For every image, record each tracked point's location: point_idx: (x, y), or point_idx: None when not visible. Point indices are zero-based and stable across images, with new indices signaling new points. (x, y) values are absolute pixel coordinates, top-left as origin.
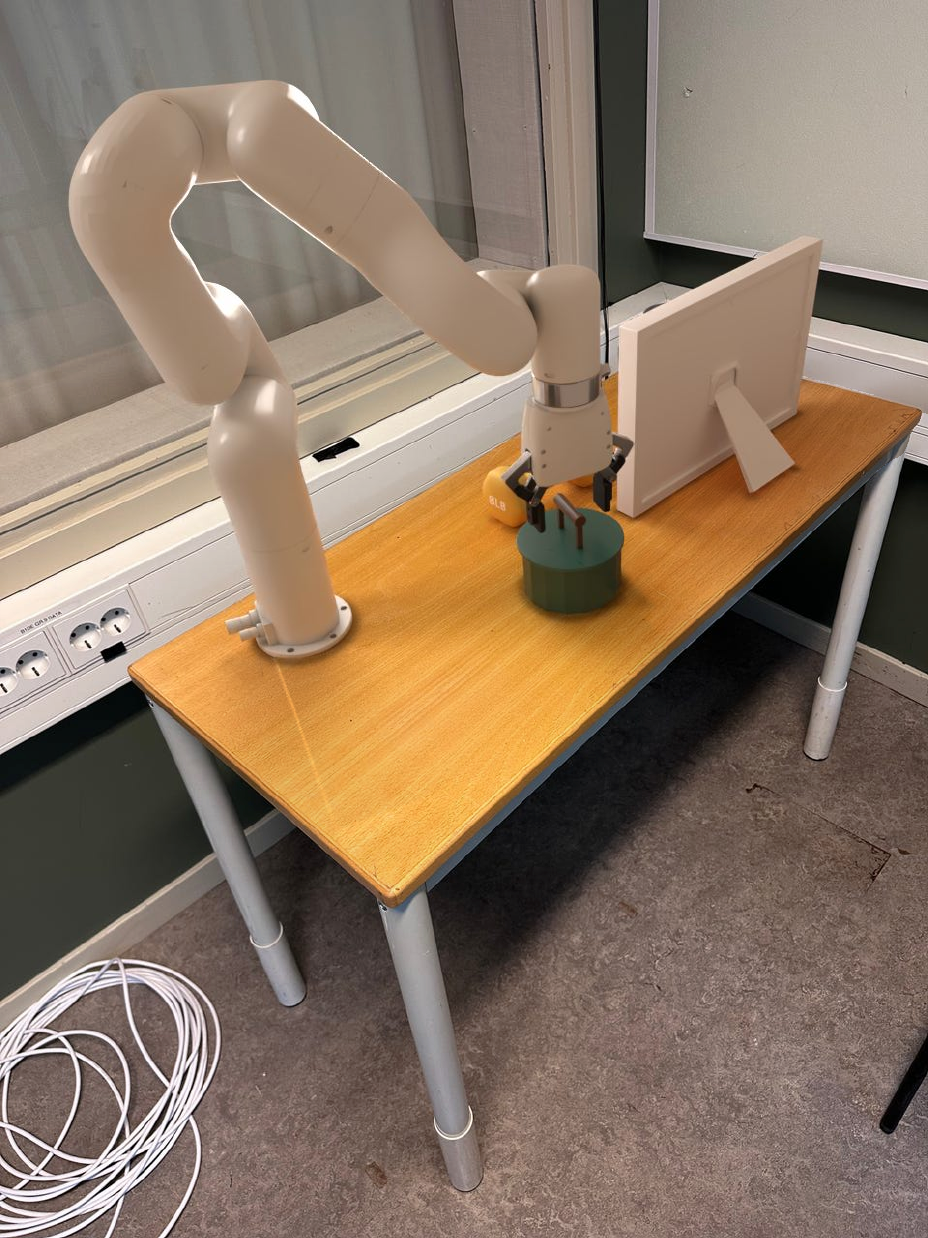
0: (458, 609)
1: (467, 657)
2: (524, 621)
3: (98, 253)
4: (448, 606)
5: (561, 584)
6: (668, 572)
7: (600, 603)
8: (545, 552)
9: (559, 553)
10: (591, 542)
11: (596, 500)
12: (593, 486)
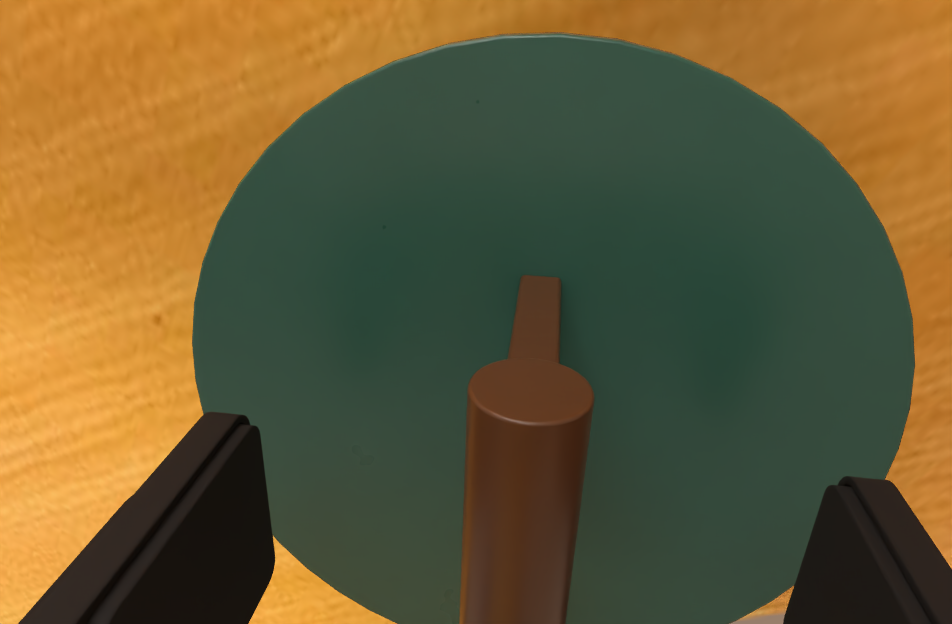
0: (55, 134)
1: (50, 386)
2: None
3: None
4: (16, 90)
5: None
6: (949, 401)
7: None
8: (325, 454)
9: (391, 503)
10: (606, 522)
11: (827, 559)
12: (897, 621)
